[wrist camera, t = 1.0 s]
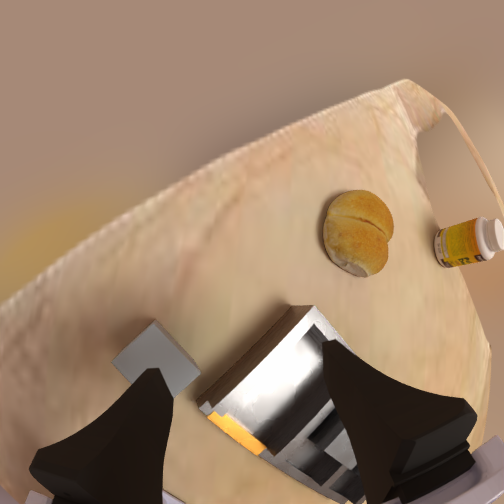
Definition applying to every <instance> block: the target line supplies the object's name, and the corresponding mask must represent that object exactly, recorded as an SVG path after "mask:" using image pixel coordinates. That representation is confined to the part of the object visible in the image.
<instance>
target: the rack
mask: <svg viewBox="0 0 504 504" xmlns="http://www.w3.org/2000/svg"><path fill="white" fill-rule="evenodd" d="M333 339H336V340H338V341H339V342H340V343H341V344H343V345H344V346H345V347H346V348H347V349H349V350H350V351H351V352H352V353H354V352H353V350H352V349H351V348H350V347H349V346H348V344H347V343H346V342H345V341H344V340H343V338H342V337H341V336H340V335H339V334H338V333H337V331H336V330H335V329H334V328H333V327H332V325H331V324H330V323H329V322H328V321H327V319H326V318H325V317H324V316H323V315H322V314H321V312H320V311H319V310H318V309H317V308H316V306H315V305H304V306H292V307H291V308H290V309H289V310H288V311H287V312H286V313H285V314H284V315H283V316H282V317H281V318H280V319H279V320H278V322H277V323H276V324H275V325H274V326H273V327H272V328H271V329H270V330H269V331H268V332H267V333H266V334H265V335H264V336H263V337H262V338H261V339H260V340H259V341H258V342H257V343H256V344H255V345H254V346H253V347H252V348H251V349H250V350H249V351H248V352H247V353H246V354H245V355H244V356H243V357H242V358H241V359H240V360H239V361H238V362H237V363H236V364H235V365H234V366H233V367H231V368H230V369H229V370H228V371H227V372H226V373H225V374H224V375H223V376H222V377H221V378H220V379H219V380H218V381H217V382H216V383H215V384H213V385H212V386H211V387H210V388H209V389H208V390H207V391H206V392H205V393H204V394H203V395H201V396H200V397H199V398H198V399H197V400H196V403H197V405H198V408H199V409H200V410H201V411H202V412H203V413H205V414H206V416H207V418H208V419H209V420H211V421H212V422H213V423H214V424H216V425H217V426H218V427H219V428H221V429H222V430H223V431H224V432H226V433H227V434H228V435H229V436H231V437H232V438H233V439H235V440H236V441H237V442H239V443H240V444H241V445H243V446H244V447H245V448H247V449H248V450H250V451H251V452H252V453H254V454H255V455H257V456H258V455H259V456H260V457H262V458H263V459H265V460H266V461H268V462H269V463H271V464H272V465H274V466H275V467H277V468H278V469H280V470H281V471H283V472H284V473H286V474H288V475H289V476H291V477H293V478H294V479H296V480H297V481H299V482H301V483H303V484H304V485H306V486H308V487H310V488H311V489H313V490H315V491H317V492H319V493H320V494H322V495H324V496H326V497H328V498H330V499H332V500H334V501H336V502H338V503H340V504H345V503H346V502H347V501H348V500H349V501H351V502H352V503H353V504H362V503H363V502H364V501H365V500H366V497H365V492H364V488H363V484H362V480H361V477H360V473H359V469H358V466H357V462H356V459H355V455H354V452H353V449H352V446H351V443H350V440H349V437H348V435H347V432H346V430H345V428H344V425H343V423H342V421H341V419H340V417H339V415H338V413H337V411H336V408H335V406H334V404H333V402H332V400H331V398H330V395H329V392H328V389H327V386H326V383H325V380H324V376H323V354H322V342H325V341H329V340H333ZM354 354H355V353H354ZM355 355H356V354H355ZM356 356H357V355H356Z"/></svg>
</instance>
